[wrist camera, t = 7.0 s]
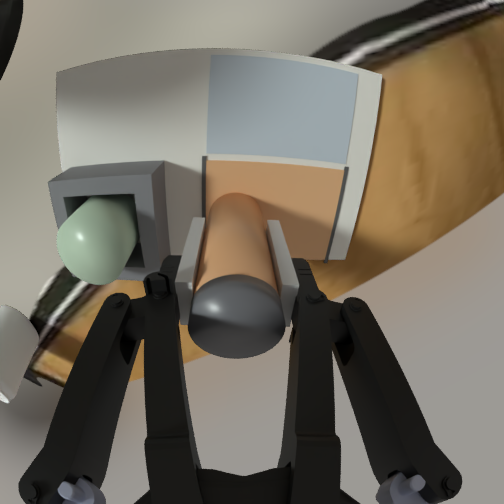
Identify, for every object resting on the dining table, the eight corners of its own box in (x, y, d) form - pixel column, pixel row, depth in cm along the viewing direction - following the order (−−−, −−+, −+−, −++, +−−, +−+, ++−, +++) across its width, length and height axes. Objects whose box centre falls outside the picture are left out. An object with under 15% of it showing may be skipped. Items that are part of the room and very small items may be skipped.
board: (60, 72, 13) (30, 73, 10) (378, 75, 15) (407, 74, 12) (82, 252, 22) (64, 278, 19) (341, 258, 24) (357, 286, 21)
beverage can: (28, 308, 26) (-10, 379, 16) (48, 346, 30) (22, 412, 20) (-7, 297, 24) (-44, 358, 14) (13, 334, 29) (-15, 392, 19)
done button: (79, 190, 17) (48, 217, 13) (139, 187, 17) (116, 215, 13) (91, 248, 19) (68, 282, 16) (146, 249, 20) (130, 286, 16)
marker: (207, 191, 19) (182, 292, 10) (264, 192, 20) (292, 293, 10) (208, 240, 21) (192, 357, 12) (260, 241, 22) (279, 357, 12)
